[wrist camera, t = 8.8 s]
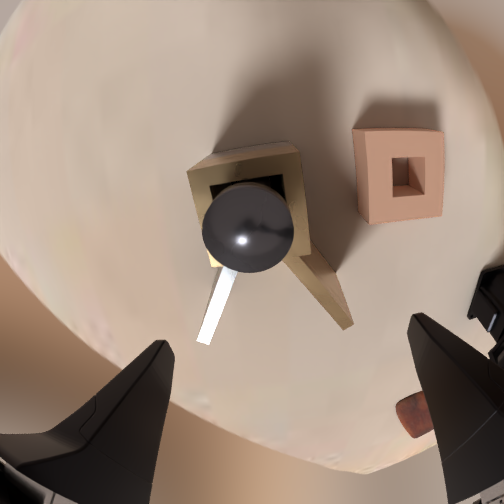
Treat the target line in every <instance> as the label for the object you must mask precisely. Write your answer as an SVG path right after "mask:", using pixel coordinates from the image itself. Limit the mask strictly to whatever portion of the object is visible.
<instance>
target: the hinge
mask: <svg viewBox="0 0 504 504" xmlns="http://www.w3.org/2000/svg"><path fill="white" fill-rule="evenodd" d="M277 174H280V176H281V183H282V189H283V196H284V200H285V202H286V203H287V205H288V207H289V209H290V212H291V216H292V220H293V225H294V238H293V242H292V245H291V248H290V250H289V252H288V253H287V255H286V256H285V257H284V258H283V259H282V260H283V262H284V263H285V264H286V265H287V266H288V267H289V268H290V270H291V271H292V272H293V273H294V274H295V275H296V276H297V277H298V279H299V280H300V281H301V282H302V283H303V284H304V285H305V287H306V288H307V289H308V290H309V291H310V292H311V293H312V295H313V296H314V297H315V298H316V299H317V300H318V302H319V303H320V304H321V305H322V306H323V307H324V308H325V310H326V311H327V312H328V313H329V314H330V315H331V317H332V318H333V319H334V320H335V321H336V322H337V324H338V325H339V326H340V327H341V328H342V329H343V330H345V329H347V328H348V327H350V326H352V325H353V324H354V323H353V320H352V317H351V314H350V311H349V308H348V305H347V303H346V300H345V297H344V294H343V291H342V289H341V286H340V283H339V281H338V278H337V275H336V273H335V272H334V270H333V269H332V268H331V266H330V265H329V264H328V262H327V261H326V260H325V259H324V257H323V256H322V255H321V253H320V252H319V251H318V250H317V248H316V247H315V246H314V244H313V243H312V242H311V241H310V236H309V226H308V216H307V207H306V198H305V189H304V181H303V173H302V166H301V158H300V152H299V151H298V150H297V149H296V148H295V147H294V146H293V145H292V144H291V143H290V142H289V141H283V142H275V143H268V144H262V145H256V146H249V147H244V148H238V149H233V150H227V151H222V152H217V153H212V154H210V155H209V156H207V157H206V158H204V159H203V160H202V161H200V162H199V163H197V164H196V165H195V166H193V167H192V168H190V169H189V170H188V171H187V175H188V179H189V183H190V187H191V191H192V195H193V199H194V203H195V207H196V211H197V215H198V218H199V222H200V226H201V230H202V223H203V219H204V216H205V213H206V211H207V210H208V208H209V206H210V205H211V203H212V201H213V200H214V198H215V197H216V196H217V195H218V194H219V193H220V192H221V191H223V190H224V189H225V188H227V187H229V186H231V182H233V181H239V180H245V179H251V178H257V177H264V176H270V175H277ZM207 252H208V255H209V259H210V262H211V266H212V267H219V266H220V267H219V270H218V273H217V276H216V278H215V281H214V284H213V287H212V290H211V294H210V297H209V301H208V304H207V308H206V311H205V315H204V318H203V322H202V326H201V329H200V333H199V337H198V340H197V341H199V342H202V343H206V344H209V343H210V340H211V338H212V335H213V333H214V330H215V328H216V325H217V323H218V320H219V317H220V315H221V312H222V310H223V307H224V305H225V302H226V300H227V297H228V295H229V292H230V290H231V287H232V285H233V282H234V280H235V277H236V275H237V272H238V271H234V270H231V269H229V268H227V267H225V266H223V265H222V264H220V263H219V262H218V261H216V260H215V259H214V258H213V256H212V255H211V254H210V253H209V251H208V250H207Z"/></svg>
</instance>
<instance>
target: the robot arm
mask: <svg viewBox="0 0 504 504" xmlns="http://www.w3.org/2000/svg"><path fill="white" fill-rule="evenodd" d="M467 317H468V319H469V320H470V319H473V318H476V317H477V318H478V320H479V321H480V322H481V324H482V325H483V327H484V328H485V329H486V331H487V332H490V334H491V335H492V337H493V338H494V340H495V341H496V345H495V346H494V347H493V348H492V349H491V350H490V351H489V352H488V355H489V357H490V359H488V358H487V357H486V356H484V355H483V354H482V353H480V352H479V351H477V350H476V349H475V348H473V347H472V346H470V345H469V344H468V343H466V342H465V341H463V340H462V339H460V338H459V337H458V336H456V335H455V334H453V333H452V332H450V331H449V330H448V329H446V328H445V327H443V326H442V325H440V324H439V323H437V322H436V321H434V320H433V319H431V318H430V317H428V316H427V315H425V314H424V313H416V314H413V315H412V316H411V319H410V323H409V327H408V331H407V335H408V340H409V343H410V347H411V351H412V355H413V360H414V364H415V368H416V372H417V375H418V378H419V381H420V384H421V387H422V390H423V393H424V396H425V399H426V403H427V406H428V409H429V413H430V416H431V420H432V424H433V427H434V431H435V435H436V439H437V443H438V448H439V452H440V456H441V461H442V467H443V473H444V478H445V484H446V491H447V498H448V504H456V503H458V502H460V501H463V500H465V499H467V498H470V497H472V496H474V495H476V494H478V493H480V496H481V498H480V499H478V500H477V501H475V502H473V504H504V265H502V266H499V267H495V268H491V269H488V270H484V271H483V272H482V273H481V275H480V278H479V281H478V285H477V288H476V291H475V294H474V298H473V301H472V304H471V306H470V309H469V312H468V315H467ZM174 362H175V356H174V353H173V351H172V349H171V347H170V345H169V343H168V342H167V341H166V340H156V341H154V342H153V343H152V344H151V345H150V346H149V347H148V348H146V349H145V350H144V351H143V352H142V353H141V354H140V355H139V356H138V357H136V358H135V359H134V360H133V361H132V362H131V363H130V364H129V365H128V366H127V367H125V368H124V369H123V370H122V371H121V372H120V373H119V374H118V375H117V376H115V378H113V379H112V380H111V381H110V382H109V383H108V384H107V385H105V386H104V387H103V388H102V389H101V390H100V391H99V392H98V393H97V394H96V395H94V396H93V397H92V398H91V399H90V400H89V401H88V402H86V403H85V404H84V405H83V406H82V407H80V408H79V409H78V410H77V411H75V412H74V413H73V414H71V415H70V416H69V417H68V418H66V419H65V420H63V421H62V422H61V423H59V424H58V425H57V426H55V427H54V428H52V429H51V430H49V431H46V432H43V433H36V434H0V457H1V458H2V459H3V460H5V461H6V464H4V463H3V462H1V461H0V504H149V501H150V494H151V489H152V483H153V477H154V471H155V466H156V461H157V455H158V450H159V445H160V441H161V436H162V431H163V426H164V421H165V417H166V413H167V408H168V403H169V399H170V394H171V388H172V379H173V370H174Z"/></svg>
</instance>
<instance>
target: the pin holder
mask: <svg viewBox="0 0 504 504" xmlns="http://www.w3.org/2000/svg"><path fill="white" fill-rule="evenodd" d="M352 133H353V143H354V153H355V164H356V178H357V197H358V212H359V213H360V214H361V216H362V217H363V218H364V219H365V220H366V222H367V223H368V224H369V225H372V224H380V223H388V222H396V221H405V220H413V219H421V218H430V217H439V216H442V208H443V193H444V132H441V131H436V130H430V129H425V128H365V129H352ZM399 157H408V168H409V185H400V186H393V184H392V158H399Z"/></svg>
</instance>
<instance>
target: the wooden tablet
mask: <svg viewBox="0 0 504 504" xmlns="http://www.w3.org/2000/svg"><path fill="white" fill-rule="evenodd" d="M396 412H397V415H398V418H399V420H400V422H401V423H402V425H403V426H404V428H405V429H406V430H407V432H408V433H409V434H410V436H411V437H412V438H418V437H420V436H422V435H424V434H426V433H428V432H430V431H431V430H433V429H434V427H433V424H432V420H431V416H430V413H429V409H428V406H427V403H426V399H425V396H424V393H423V391H420V392H417V393H415V394H413V395H411V396H408V397H406V398H404V399H403V400H401V401H399V402H398V403H397V404H396Z"/></svg>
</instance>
